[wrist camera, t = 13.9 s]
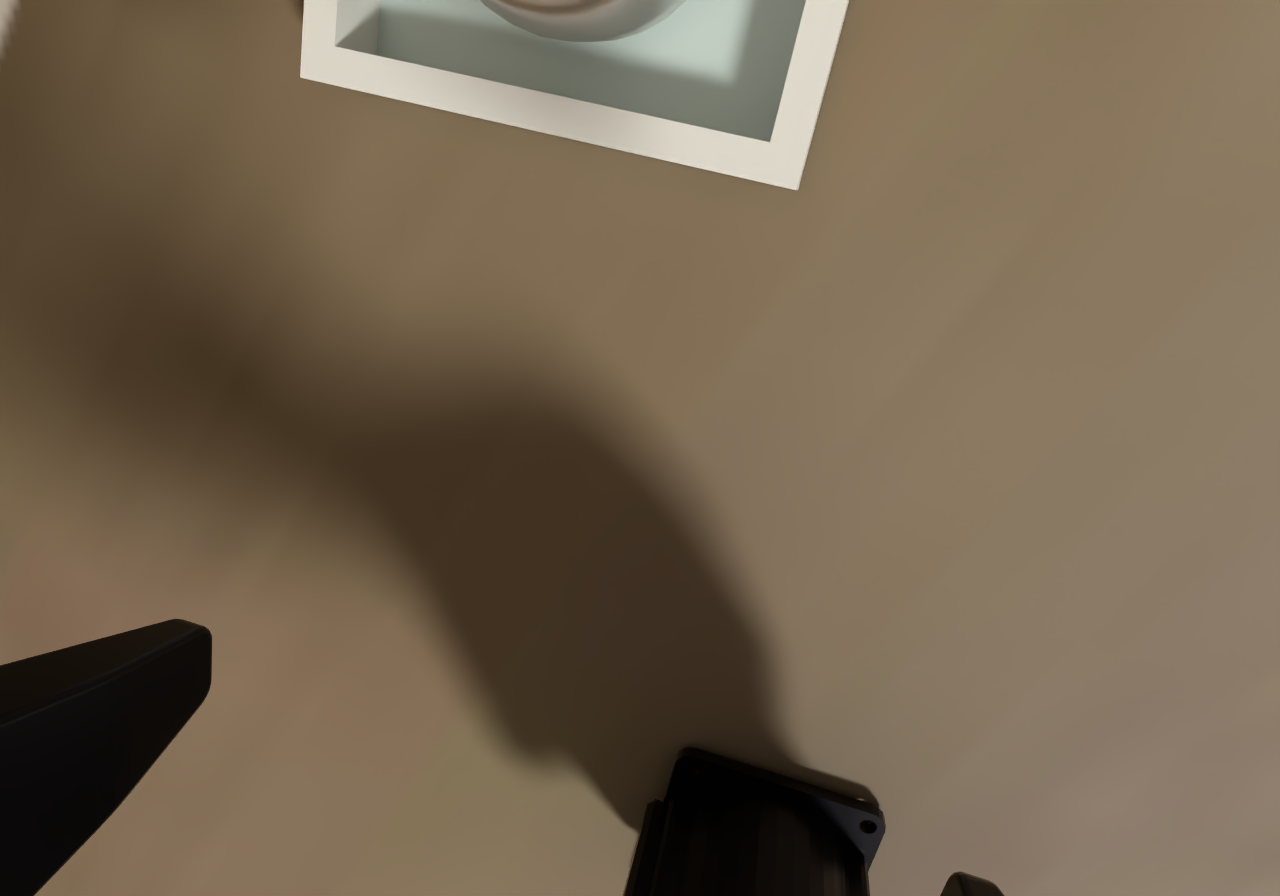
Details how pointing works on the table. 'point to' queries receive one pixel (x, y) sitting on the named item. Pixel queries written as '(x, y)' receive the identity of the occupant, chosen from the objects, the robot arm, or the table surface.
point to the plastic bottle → (584, 17)
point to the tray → (602, 75)
